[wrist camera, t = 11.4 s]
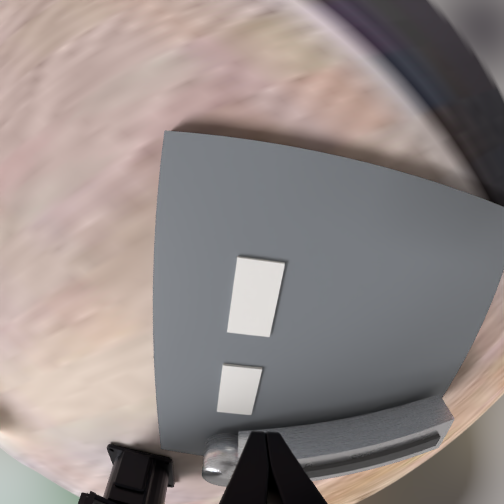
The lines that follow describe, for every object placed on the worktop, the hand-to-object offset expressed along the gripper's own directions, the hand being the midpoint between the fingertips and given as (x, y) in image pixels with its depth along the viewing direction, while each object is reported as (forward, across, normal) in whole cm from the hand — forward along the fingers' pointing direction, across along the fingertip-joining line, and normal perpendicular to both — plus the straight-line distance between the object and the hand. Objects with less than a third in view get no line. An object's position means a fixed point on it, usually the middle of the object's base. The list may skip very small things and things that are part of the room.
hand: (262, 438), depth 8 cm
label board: (+10, -6, +4) cm, 12 cm away
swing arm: (+8, -7, +11) cm, 16 cm away
